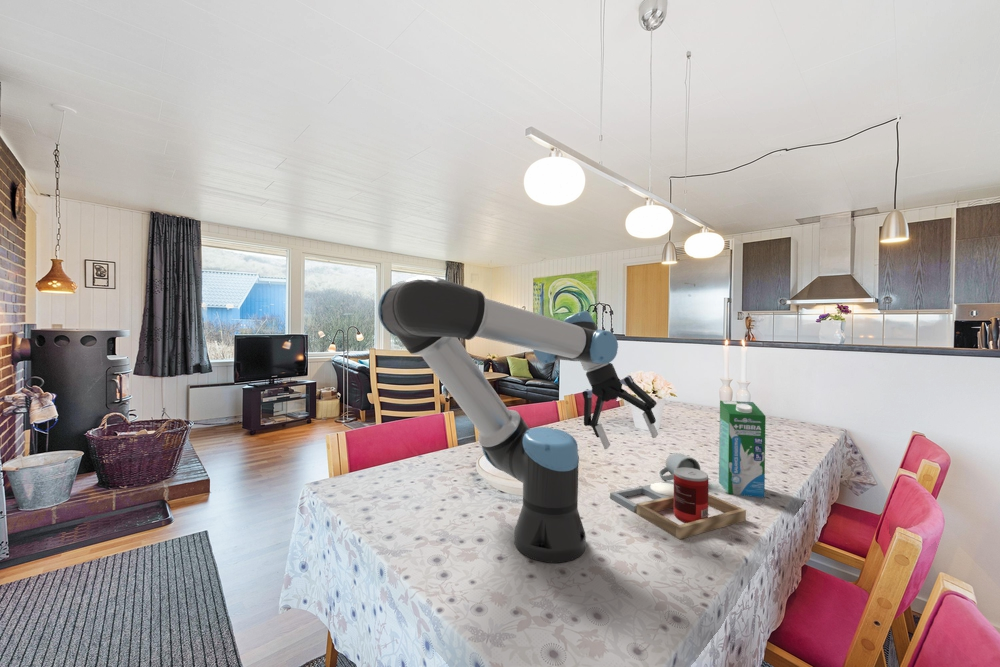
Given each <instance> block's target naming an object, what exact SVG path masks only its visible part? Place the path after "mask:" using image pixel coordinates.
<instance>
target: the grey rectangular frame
mask: <svg viewBox="0 0 1000 667" xmlns="http://www.w3.org/2000/svg"><path fill="white" fill-rule="evenodd" d="M641 493H643V495H644V494H645V495H644V496H646V497H648V498H650V497H651V498H650V499H651V500H645V502H648V501H652V500H657V499H662V498H666V497H671V496H674V481H671V480H666V481H662V482H655V483H652V484H647V485H643V486H637V487H631V488H627V489H624V490H623V489H622V490H617V491H613V492H610V493H609V499H610V500H612V501H614V502H615V503H616V504H619V505H621V506H622V507H624V508H626V509H628V510H629V511H631V512H633V513H637V504H639V503H643V502H644V501H642V502H637V503H635V502H633V501H631V500H630V499H628V498H627V496H628V497H632V495H633V496H637V494H638V495H642V494H641Z"/></svg>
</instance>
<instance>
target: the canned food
mask: <svg viewBox="0 0 1000 667" xmlns="http://www.w3.org/2000/svg"><path fill="white" fill-rule="evenodd" d="M673 483H674V508H673V514H674V516H675V518H676V519H677V520H679V521H681V522H683V523H689V522H693V521H696V520H700V519H704V518H708V517H709V505H708V494H709V474H708V473H707V472H705V471H703V470H701V469H700V470H698V469H694V468H687V467H682V468H677V469H675V470H674V479H673Z"/></svg>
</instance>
